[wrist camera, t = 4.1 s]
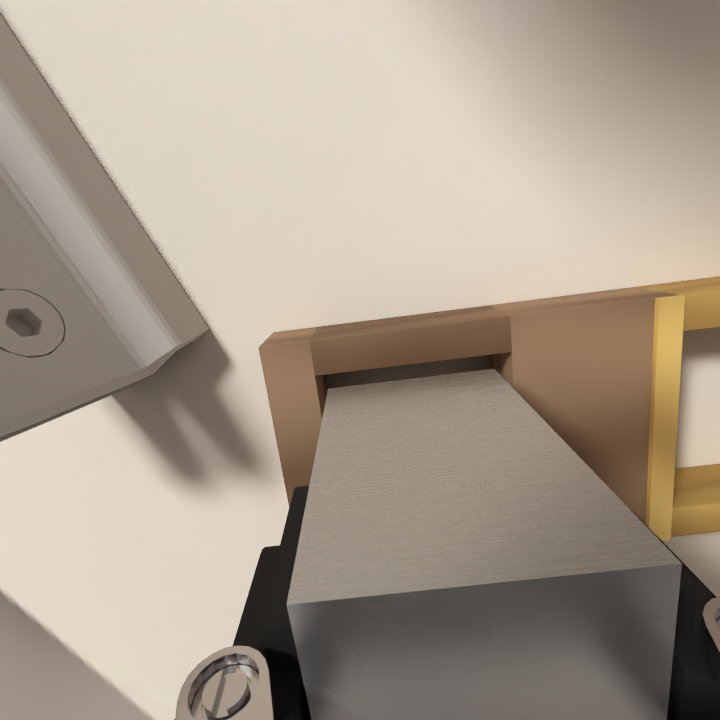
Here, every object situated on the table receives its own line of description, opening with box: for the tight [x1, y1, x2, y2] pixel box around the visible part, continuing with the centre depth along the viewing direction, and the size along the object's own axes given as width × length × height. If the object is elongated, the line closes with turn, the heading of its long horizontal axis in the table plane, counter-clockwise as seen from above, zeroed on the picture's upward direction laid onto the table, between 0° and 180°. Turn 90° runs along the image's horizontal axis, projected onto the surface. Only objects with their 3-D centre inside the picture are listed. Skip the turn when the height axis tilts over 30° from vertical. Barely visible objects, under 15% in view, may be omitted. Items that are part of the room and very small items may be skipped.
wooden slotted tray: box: [259, 277, 720, 541], centre depth 16 cm, size 9×22×3 cm, turn 97°
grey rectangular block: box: [287, 369, 682, 720], centre depth 10 cm, size 5×5×8 cm
